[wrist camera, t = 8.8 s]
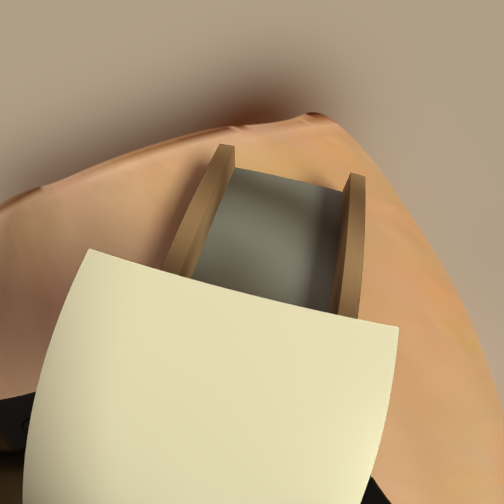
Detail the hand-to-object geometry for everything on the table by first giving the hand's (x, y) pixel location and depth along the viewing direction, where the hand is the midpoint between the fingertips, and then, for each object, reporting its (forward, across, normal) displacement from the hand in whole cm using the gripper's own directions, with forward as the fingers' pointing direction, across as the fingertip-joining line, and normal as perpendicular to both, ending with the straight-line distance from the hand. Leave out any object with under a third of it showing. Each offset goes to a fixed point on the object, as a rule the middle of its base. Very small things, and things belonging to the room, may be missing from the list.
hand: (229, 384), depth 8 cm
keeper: (+3, 0, +5) cm, 5 cm away
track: (+7, 0, +2) cm, 7 cm away
